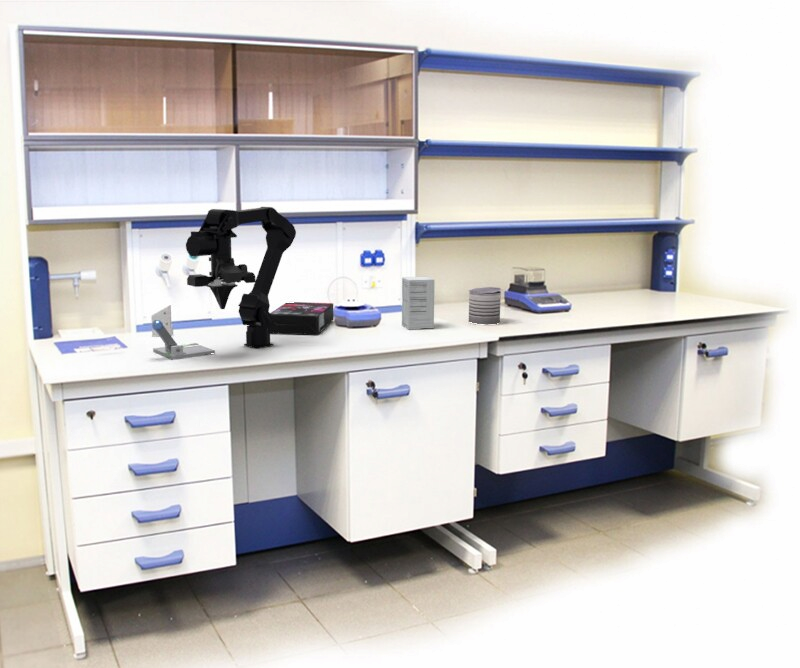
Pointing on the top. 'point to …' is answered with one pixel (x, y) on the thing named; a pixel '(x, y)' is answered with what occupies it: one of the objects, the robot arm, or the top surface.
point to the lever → (163, 334)
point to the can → (484, 305)
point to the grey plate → (163, 320)
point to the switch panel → (183, 351)
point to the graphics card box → (302, 318)
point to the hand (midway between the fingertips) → (222, 309)
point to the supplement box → (417, 302)
